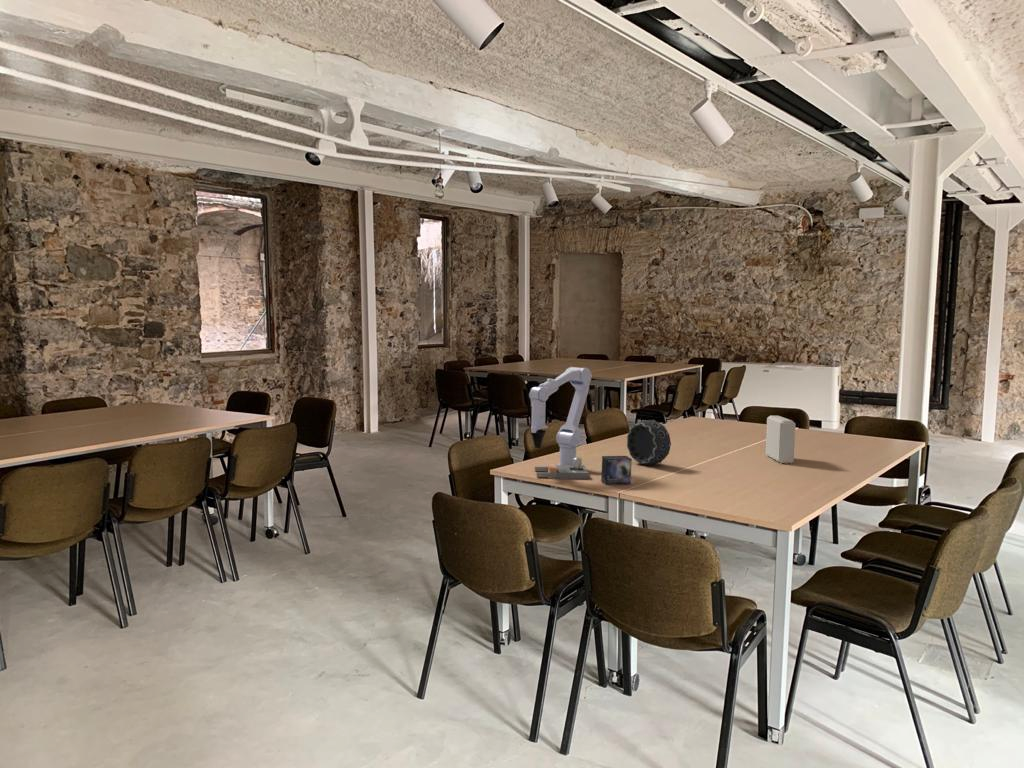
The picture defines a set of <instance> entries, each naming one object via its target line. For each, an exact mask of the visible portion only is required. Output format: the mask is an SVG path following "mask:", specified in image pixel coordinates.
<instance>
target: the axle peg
mask: <svg viewBox="0 0 1024 768" xmlns="http://www.w3.org/2000/svg"><path fill="white" fill-rule="evenodd" d="M582 462H583V458H582V457H576V458H573V470H582Z"/></svg>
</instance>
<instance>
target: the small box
mask: <svg viewBox="0 0 1024 768" xmlns="http://www.w3.org/2000/svg"><path fill="white" fill-rule="evenodd" d="M601 458H602V459H601V478H600V482H601V481H602V482H601V483H603V484H604V483H605V484H604V485H606V484H618V485H631V484H632V481H631V480H632V461H633V458H632V457H630V456H628V455H602V456H601Z"/></svg>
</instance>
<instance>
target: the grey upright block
mask: <svg viewBox="0 0 1024 768" xmlns="http://www.w3.org/2000/svg"><path fill="white" fill-rule="evenodd" d="M795 443H796V422H794V420H792V419H789V418H786V417H783V416H781V415H769V416H768V417H766V435H765V455H766V456H767V455H768V456H769V457H768V456H767V457H768V458H770V457H771V458H770V459H772V458H773V459H772V460H774V459H775V460H776V462H777V461H778V462H777V463H779V462H780V463H779V464H781V463H791V464H793V463H794V462H795V446H796V445H795ZM775 460H774V461H775Z"/></svg>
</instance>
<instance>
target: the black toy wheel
mask: <svg viewBox="0 0 1024 768" xmlns="http://www.w3.org/2000/svg"><path fill="white" fill-rule="evenodd" d="M626 439H627V441H626V448H627V450H628V452H629V456H630V458H631V459H632V460H634V461H635V462H637V463H639V464H641V465H644V466H645V465H646V466H652V465H657V464H661V463H662V461H664V460H665V459H666V458H667V456H669V454H670V450H671V445H672V442H671V436H670V433H669V432H668V430H667V428H666V426H665V425H664V424H662V423H661V422H658V421H656V420H655V419H652V420H651V419H648V420H647V419H646V420H641V421H638V422H636V423H635V424H633V425H632V426H631V427H630V429H629V431H628V433H627V435H626Z"/></svg>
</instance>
